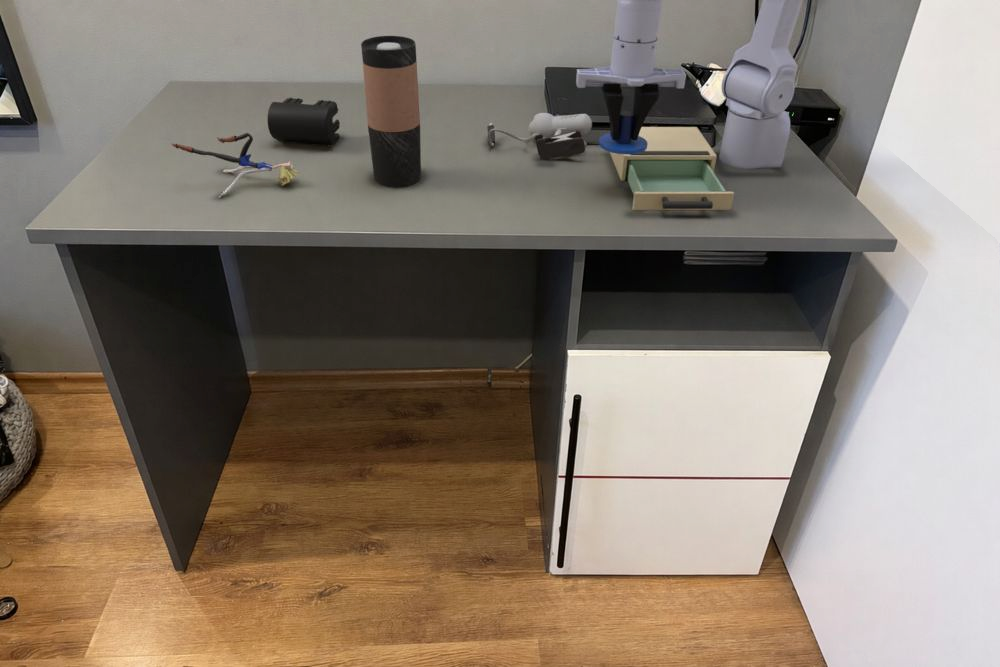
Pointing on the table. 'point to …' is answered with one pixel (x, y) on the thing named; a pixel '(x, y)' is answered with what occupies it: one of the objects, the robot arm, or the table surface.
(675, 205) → the wooden drawer
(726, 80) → the robot arm
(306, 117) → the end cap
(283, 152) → the table surface
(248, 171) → the spliced wire bundle
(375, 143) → the travel mug
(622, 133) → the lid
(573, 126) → the clip-on lamp
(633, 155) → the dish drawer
